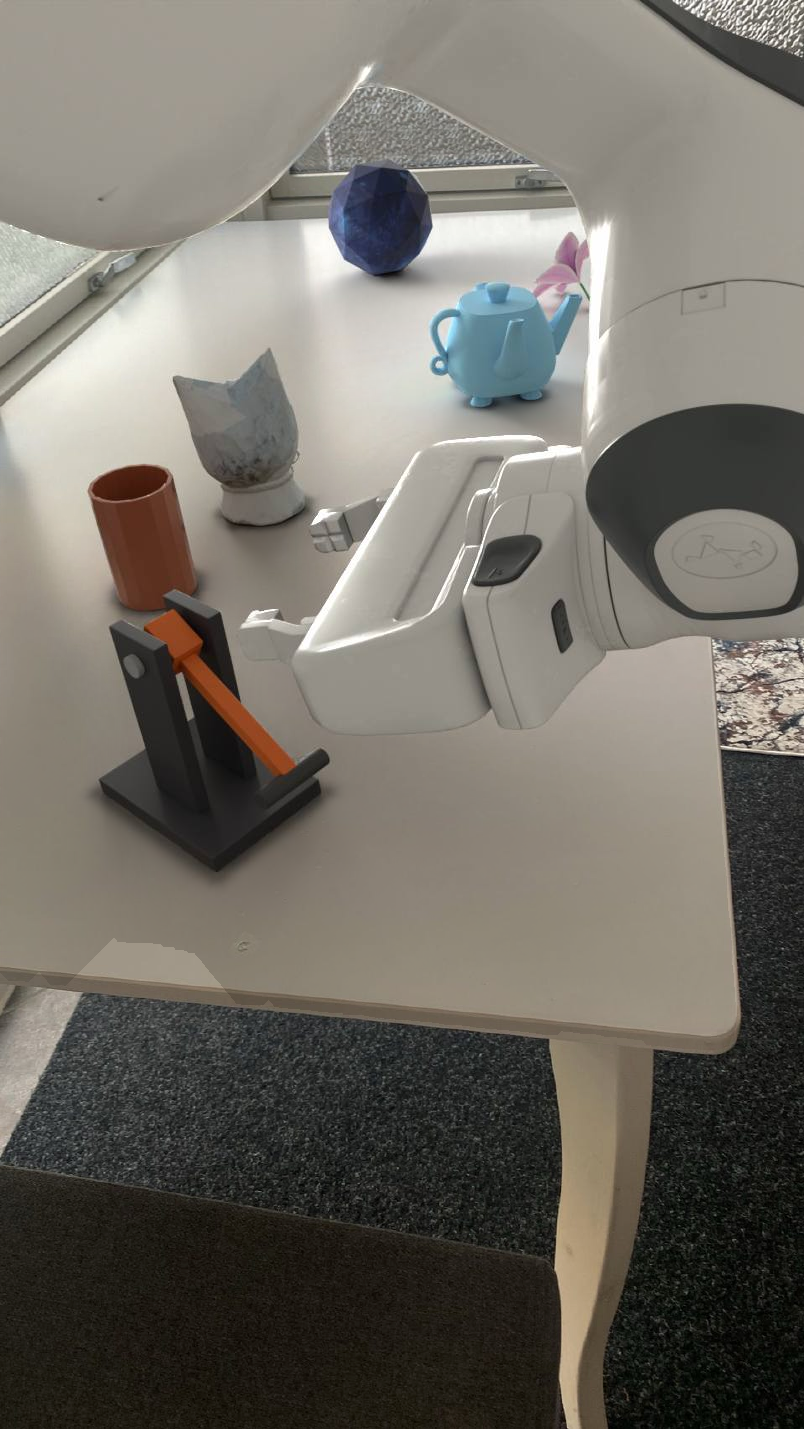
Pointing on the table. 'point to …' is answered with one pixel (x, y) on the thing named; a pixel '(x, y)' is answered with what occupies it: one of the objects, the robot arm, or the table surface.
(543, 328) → the teapot
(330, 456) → the table surface
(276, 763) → the switch lever
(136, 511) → the cup
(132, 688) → the pivoting lever stand
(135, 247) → the robot arm
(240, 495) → the figurine
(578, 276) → the lily
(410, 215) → the decorative orb
